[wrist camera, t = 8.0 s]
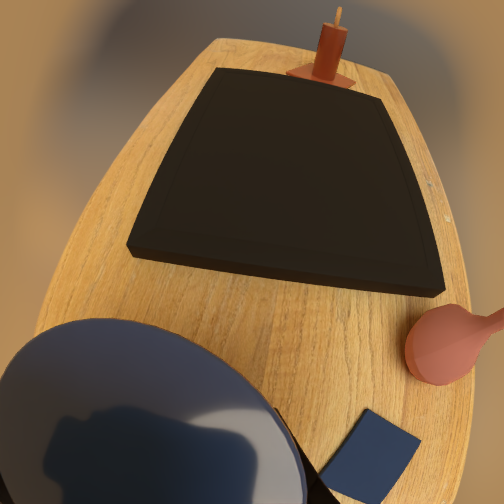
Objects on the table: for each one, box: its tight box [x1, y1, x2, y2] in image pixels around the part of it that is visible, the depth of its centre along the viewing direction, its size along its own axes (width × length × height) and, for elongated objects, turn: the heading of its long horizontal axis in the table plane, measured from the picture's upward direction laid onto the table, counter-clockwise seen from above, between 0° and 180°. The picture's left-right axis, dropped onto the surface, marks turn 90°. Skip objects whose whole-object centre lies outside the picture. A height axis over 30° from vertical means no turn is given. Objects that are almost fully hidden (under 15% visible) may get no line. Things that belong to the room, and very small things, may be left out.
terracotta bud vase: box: [405, 304, 504, 386], centre depth 18 cm, size 8×8×12 cm
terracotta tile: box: [286, 63, 356, 89], centre depth 50 cm, size 12×12×1 cm
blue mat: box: [318, 409, 421, 504], centre depth 17 cm, size 8×8×1 cm
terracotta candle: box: [312, 7, 348, 81], centre depth 42 cm, size 5×5×18 cm
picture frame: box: [126, 68, 446, 298], centre depth 35 cm, size 40×2×33 cm
